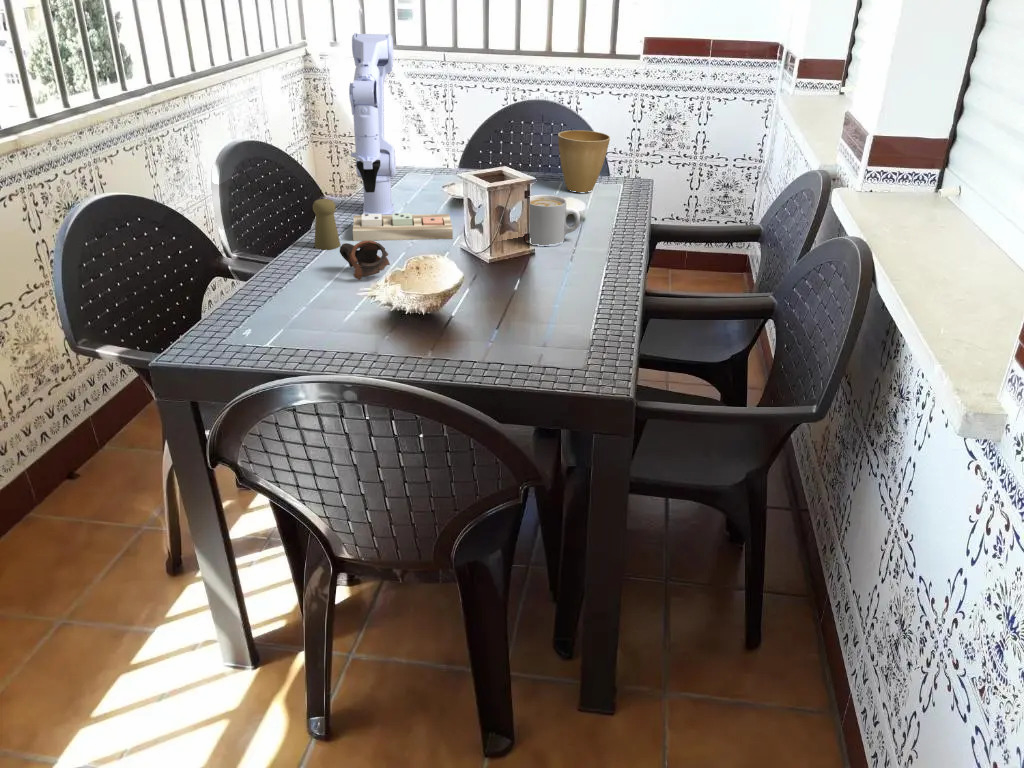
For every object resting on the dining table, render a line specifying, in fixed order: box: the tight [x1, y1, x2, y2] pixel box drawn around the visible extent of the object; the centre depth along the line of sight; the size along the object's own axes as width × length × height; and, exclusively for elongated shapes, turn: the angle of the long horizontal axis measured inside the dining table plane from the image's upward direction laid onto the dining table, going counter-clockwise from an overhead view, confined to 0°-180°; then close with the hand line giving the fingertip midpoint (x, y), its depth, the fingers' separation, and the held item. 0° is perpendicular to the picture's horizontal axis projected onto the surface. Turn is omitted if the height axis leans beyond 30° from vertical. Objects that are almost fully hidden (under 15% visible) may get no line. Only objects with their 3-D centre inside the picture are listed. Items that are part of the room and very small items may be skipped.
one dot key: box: [423, 217, 443, 225], centre depth 205 cm, size 5×5×3 cm
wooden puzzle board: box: [352, 213, 454, 242], centre depth 204 cm, size 12×24×2 cm, turn 98°
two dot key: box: [361, 213, 382, 226], centre depth 203 cm, size 5×5×3 cm
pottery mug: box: [339, 240, 391, 281], centre depth 179 cm, size 12×10×8 cm
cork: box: [312, 198, 341, 251], centre depth 192 cm, size 6×6×11 cm
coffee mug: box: [529, 194, 581, 245], centre depth 200 cm, size 13×10×10 cm
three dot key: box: [392, 212, 413, 226], centre depth 204 cm, size 5×5×3 cm
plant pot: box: [557, 129, 611, 192], centre depth 239 cm, size 15×15×16 cm
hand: (370, 191), depth 199 cm, fingers closed
